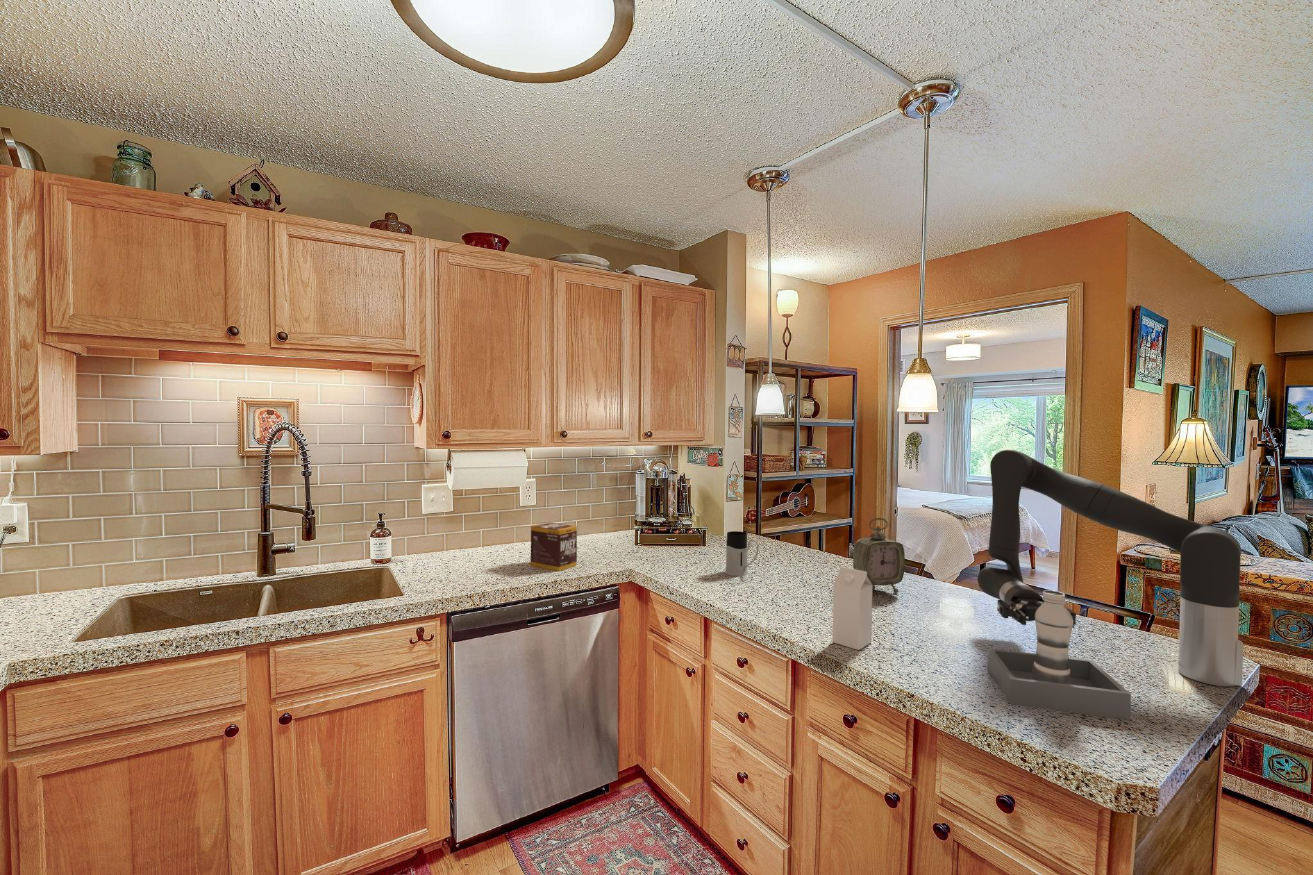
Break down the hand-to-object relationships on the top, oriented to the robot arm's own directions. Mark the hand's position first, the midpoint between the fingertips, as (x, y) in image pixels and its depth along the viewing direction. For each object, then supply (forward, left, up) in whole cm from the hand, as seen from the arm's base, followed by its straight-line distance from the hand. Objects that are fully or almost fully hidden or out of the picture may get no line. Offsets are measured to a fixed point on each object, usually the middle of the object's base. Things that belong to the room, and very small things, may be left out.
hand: (1047, 622), depth 119 cm
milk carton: (+39, -11, -14) cm, 43 cm away
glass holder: (+75, -67, -14) cm, 102 cm away
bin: (0, +4, -13) cm, 14 cm away
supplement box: (+147, -56, -14) cm, 158 cm away
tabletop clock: (+29, -60, -14) cm, 68 cm away
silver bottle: (0, +4, -13) cm, 13 cm away
